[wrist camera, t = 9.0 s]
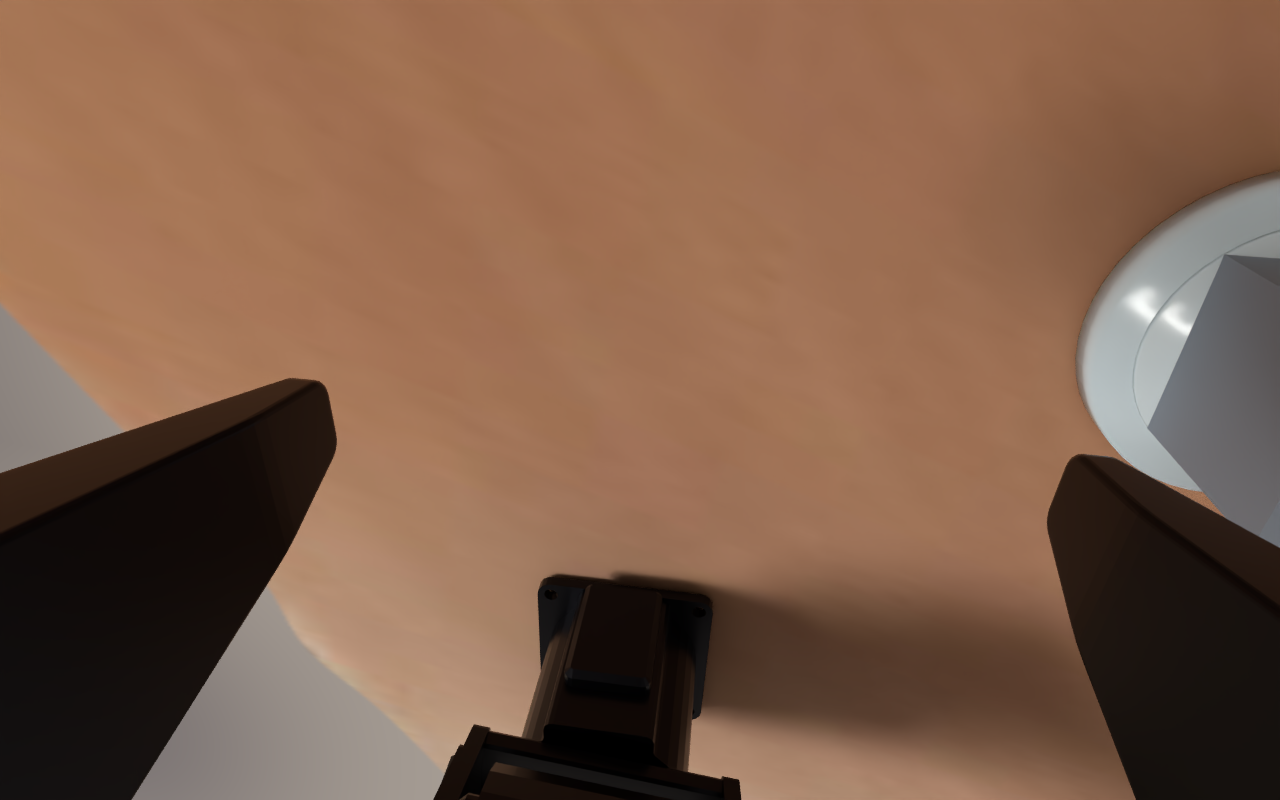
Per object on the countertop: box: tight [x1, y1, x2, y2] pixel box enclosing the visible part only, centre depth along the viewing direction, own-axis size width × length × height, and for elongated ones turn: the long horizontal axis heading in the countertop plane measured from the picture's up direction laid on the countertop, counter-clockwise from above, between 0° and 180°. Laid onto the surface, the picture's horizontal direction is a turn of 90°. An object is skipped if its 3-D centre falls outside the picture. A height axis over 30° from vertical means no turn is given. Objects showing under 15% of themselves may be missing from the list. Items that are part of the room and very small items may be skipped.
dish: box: [1075, 171, 1280, 492], centre depth 20 cm, size 9×9×1 cm
